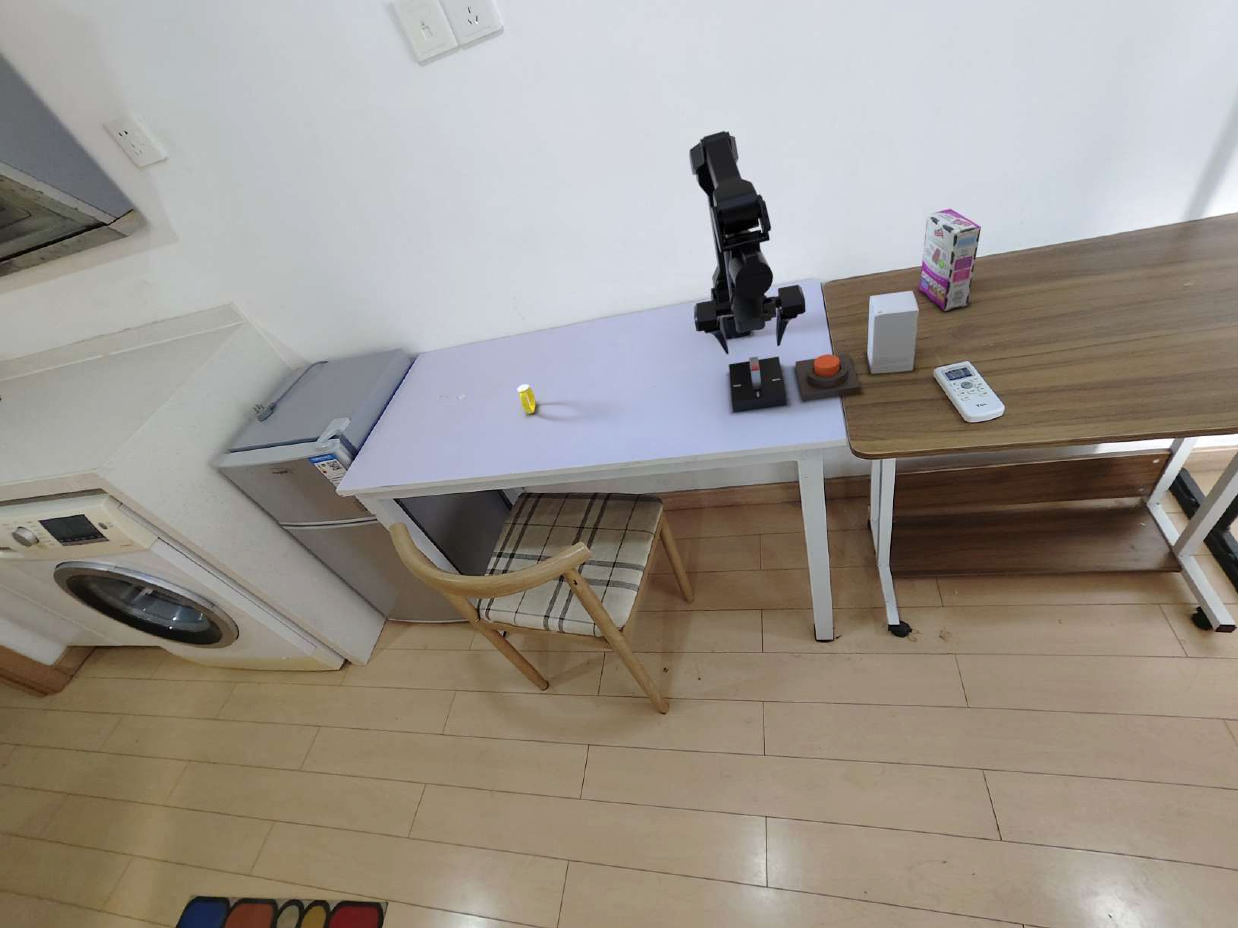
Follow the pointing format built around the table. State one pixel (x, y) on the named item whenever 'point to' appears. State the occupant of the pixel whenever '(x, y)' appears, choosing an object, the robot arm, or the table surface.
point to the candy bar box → (949, 258)
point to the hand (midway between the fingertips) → (752, 349)
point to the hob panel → (770, 384)
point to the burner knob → (755, 373)
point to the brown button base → (827, 380)
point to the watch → (523, 392)
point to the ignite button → (826, 365)
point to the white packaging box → (892, 332)
